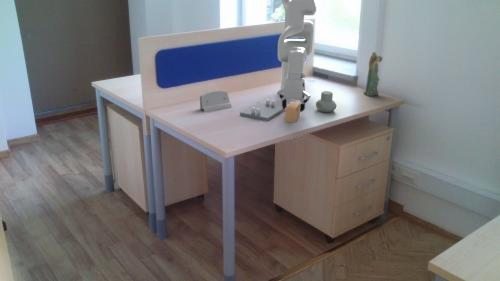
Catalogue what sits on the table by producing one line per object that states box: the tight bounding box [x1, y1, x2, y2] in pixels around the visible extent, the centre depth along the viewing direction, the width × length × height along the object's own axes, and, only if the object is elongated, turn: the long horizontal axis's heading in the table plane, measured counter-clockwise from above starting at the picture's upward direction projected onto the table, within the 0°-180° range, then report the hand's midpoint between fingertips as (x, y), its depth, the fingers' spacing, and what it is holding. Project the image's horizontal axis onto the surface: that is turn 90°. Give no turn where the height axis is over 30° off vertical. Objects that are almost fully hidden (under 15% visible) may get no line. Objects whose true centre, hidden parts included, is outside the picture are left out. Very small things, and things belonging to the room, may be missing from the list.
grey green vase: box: [315, 90, 337, 113], centre depth 252 cm, size 11×8×10 cm
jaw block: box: [284, 100, 301, 123], centre depth 241 cm, size 12×5×7 cm, turn 163°
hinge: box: [199, 90, 232, 113], centre depth 253 cm, size 17×5×10 cm, turn 121°
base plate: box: [239, 98, 286, 122], centre depth 248 cm, size 20×16×4 cm
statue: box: [363, 51, 383, 97], centre depth 278 cm, size 7×8×25 cm
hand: (293, 109), depth 240 cm, fingers open, 9 cm apart
